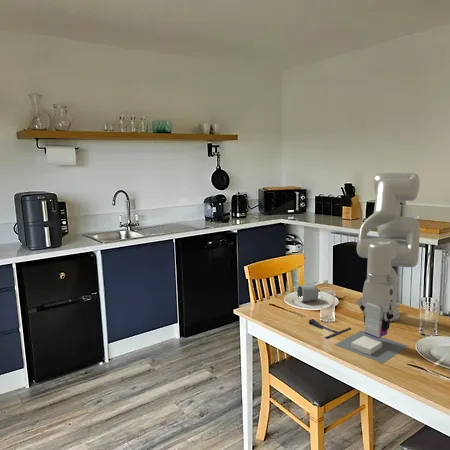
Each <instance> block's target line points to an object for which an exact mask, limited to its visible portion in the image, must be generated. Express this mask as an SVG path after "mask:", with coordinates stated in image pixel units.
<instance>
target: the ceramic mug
mask: <svg viewBox="0 0 450 450" xmlns="http://www.w3.org/2000/svg"><path fill="white" fill-rule="evenodd" d="M296 295H297V296H296V297H297V298H298V297H299V296H300V297H301V296H303V300H302V302H301V303H304V302H303V301H306V302H313V301H312V300H314V301H317V300H318V298H319V295H320V293H319V288H318V287H317V286H316V285H314V284H313V285H312V284H311V285H309V284H308V285H307V284H305V285H304V284H303V285H298V286H297V291H296Z"/></svg>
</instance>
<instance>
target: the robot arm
mask: <svg viewBox="0 0 450 450" xmlns="http://www.w3.org/2000/svg"><path fill="white" fill-rule="evenodd" d="M420 182H421V180H420V176H419V175H418V173H415V172H385V173H384V172H383V173H379V174H376V175H375V176H374V178H373V190H374V193H375V201H374V206H373V207H374V208H373V213H372V214H371V215H369V216H368V217H367V218H366V219H365V220H364V221H363V222H362V224H361V225H360V228H359V230H358V235H357V241H356V253H357V255H358V256H359V257H360V258H363V259H367V266H366V267H367V270H366V279H365V281H364V284H363V288H362V293H361V297H360V298H358V300H356V304H357V305H358V307H359V309H360V310H361V312H362V314H363V322H364V323H365V314H366V303H369V304H373V305H376V306H380V307H382V312H383V317H384V320H383V322H382V331H384V332H385V331H386V330H387V331H388V330H389V329H390V323H391V322H395V321H399V320H400V318H401V315H400V311H399V309H398V308H399V307H400V304H399V303H398V302H397V301H398V300H397V299H398V281H399V278H398V274H397V271H396V270H395V269H394V268H393V267H403V268H415V267H416V266H417V265H418V263H419V255H420V237H421V236H420V235H421V228H420V227H421V225H420V222H419V220H418V219H417V218H415V217H410V216H409V217H407V216H401V214H402V212H401V211H402V204H401V203H400V201H402V202H403V201H404V202H405V201H410V202H411V201H415V200H416V199H417V197H418V196H419V191H420ZM375 228H377V235H378V236H379V237H380V238H379V237H378V238H377V237H367V235H368V234H369V232H371V230H373V229H375ZM397 241H405V243H404V242H397Z"/></svg>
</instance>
